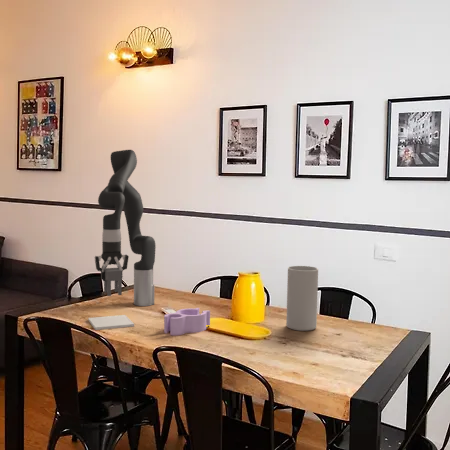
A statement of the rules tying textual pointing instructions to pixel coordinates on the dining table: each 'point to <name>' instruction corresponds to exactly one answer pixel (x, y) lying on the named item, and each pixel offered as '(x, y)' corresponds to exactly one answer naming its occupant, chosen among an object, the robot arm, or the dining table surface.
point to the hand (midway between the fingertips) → (111, 280)
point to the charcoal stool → (113, 275)
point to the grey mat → (110, 322)
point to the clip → (186, 321)
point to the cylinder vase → (302, 298)
